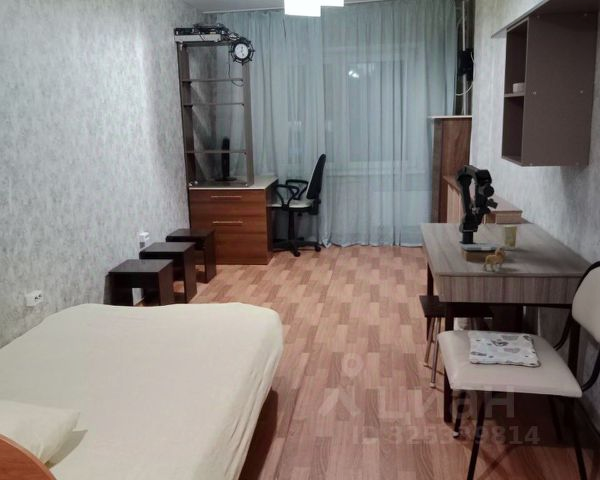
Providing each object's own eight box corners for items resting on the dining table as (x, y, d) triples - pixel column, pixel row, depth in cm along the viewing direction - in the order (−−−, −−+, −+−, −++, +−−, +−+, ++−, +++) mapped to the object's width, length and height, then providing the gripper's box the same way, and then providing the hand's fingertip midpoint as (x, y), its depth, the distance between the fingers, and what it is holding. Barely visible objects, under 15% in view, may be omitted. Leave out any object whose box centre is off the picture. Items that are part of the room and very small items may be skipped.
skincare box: (504, 250, 290) (506, 226, 287) (499, 248, 294) (501, 225, 291) (515, 249, 291) (517, 225, 289) (510, 247, 296) (512, 224, 293)
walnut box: (460, 254, 284) (460, 247, 283) (497, 254, 283) (497, 246, 282) (466, 261, 272) (466, 253, 271) (504, 260, 271) (505, 252, 270)
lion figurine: (495, 264, 265) (496, 245, 263) (506, 266, 261) (507, 247, 259) (480, 271, 255) (481, 251, 253) (491, 273, 251) (492, 253, 249)
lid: (460, 247, 283) (461, 244, 283) (497, 246, 282) (497, 244, 282) (467, 250, 270) (467, 247, 270) (505, 249, 269) (505, 247, 269)
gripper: (502, 196, 277) (500, 228, 280) (491, 191, 295) (490, 221, 298) (478, 197, 277) (477, 228, 281) (469, 192, 296) (468, 221, 299)
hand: (479, 224), depth 290 cm, fingers closed
